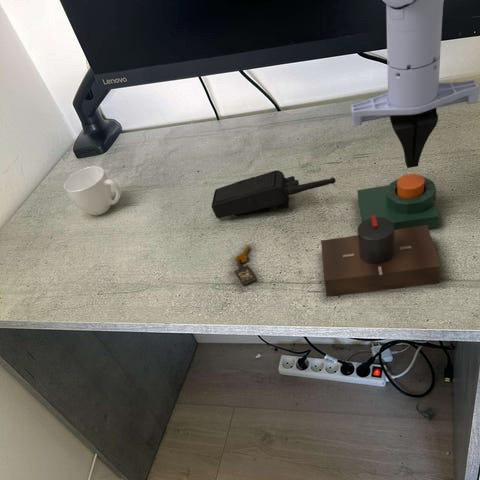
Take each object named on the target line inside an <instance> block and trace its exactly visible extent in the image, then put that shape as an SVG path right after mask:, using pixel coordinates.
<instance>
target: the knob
mask: <svg viewBox="0 0 480 480" xmlns="http://www.w3.org/2000/svg"><path fill="white" fill-rule="evenodd" d="M357 235H358V243H359V255H360V257H361V258H362V259H363V260H364V261H366V262H369V263H382V262H385V261H387V260H389V259H390V258H391V257H392V256H393V254H394V224H393V222H392V221H390V220H389V219H387V218H384V217H376V215H373V216H371V218H368V219H366V220H364V221H363V222H362V221H361V222H360V223H359V224H358V226H357Z"/></svg>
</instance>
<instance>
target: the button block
mask: <svg viewBox="0 0 480 480" xmlns="http://www.w3.org/2000/svg"><path fill="white" fill-rule="evenodd" d="M422 177H423V178H424V180H425V183H424V193H423V194H422V195H421V196H419V197H416V198H410V199H407V198H401V197H400V196H398V194H397V181H398V179H399V178H397V179H394V180H393V181H391V182H390V183H389V184H386V185H380V186H375V187H368V188H363V189H357V203H358V210H359V214H360V220H361V222H363V221H364V220H366V219H368V218H371V216H373V215H376V217H384V218H387V219H389V220H390V221H392V222H393V224H394V230H397V229H404V228H411V227H418V226H424V225H427V226H428V229H429V230H436V229H438V228H439V221H440V220H439V218H440V216H439V212H438V209H437V206H436V204H435V201H436V197H437V188H436V185H435V182H434V181H432V180H431V179H429V178H428V177H426V176H422Z"/></svg>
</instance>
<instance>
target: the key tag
mask: <svg viewBox="0 0 480 480" xmlns="http://www.w3.org/2000/svg"><path fill="white" fill-rule="evenodd" d="M250 249H251V247H250V246H249V245H248V246H246V248H245V249H244V251H243V252H242V253H240V254H239V255H237V256H236V257H235V262H236V263H237V264H236V265H237V267H238V269H235V270H234V274H235V275H236V277H237V279H238V280H239V281H240V283H241V285H242V286H243V287H244V286H246V285H249V284H251V283H253V282H255V281H257V280H258V279H257V277H256V276H255V274H254V272H253V271H252V270H251V268H250V267H249V265H246V264H245V265H244V266H242V265H241V264H243V263H245V262H247V260H248V253H249V252H250Z"/></svg>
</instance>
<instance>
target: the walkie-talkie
mask: <svg viewBox="0 0 480 480" xmlns="http://www.w3.org/2000/svg"><path fill="white" fill-rule="evenodd" d="M335 183H336V178H335V177H330V178H326V179H321V180H316V181H312V182H307V183H301V184H300V183H299V180H298V179H296V178H295V176H294V175H292V176H287V177H285V174H284V172H283V171H280V170H272V171H269V172H266V173H262V174H259V175H256V176H252V177H249V178H245V179H242V180H240V181H236V182H233V183H230V184H227V185H224V186H221V187H218V188H216V189H215V190H214V191H213V192H214V193H213V197H212V202H211V209H212V212H213V214H214V215H215V218H216V219H223V218H226V217H228V218H229V217H232V216H234V217H235V218H237V217H238V218H239V217H246V216H253V215H260V214H261V215H262V214H267V213H273V212H277V211H283V210H286V209H289V207H290V196H293V195H296V194H299V193H302V192H305V191H309V190H313V189H316V188H320V187H325V186H329V185H333V184H335Z"/></svg>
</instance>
